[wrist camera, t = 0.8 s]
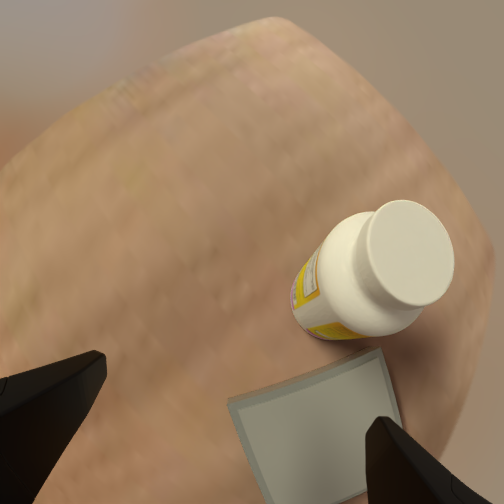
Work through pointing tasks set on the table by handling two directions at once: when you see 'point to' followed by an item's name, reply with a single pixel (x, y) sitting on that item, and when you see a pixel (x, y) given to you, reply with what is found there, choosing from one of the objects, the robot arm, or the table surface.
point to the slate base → (315, 429)
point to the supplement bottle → (374, 273)
